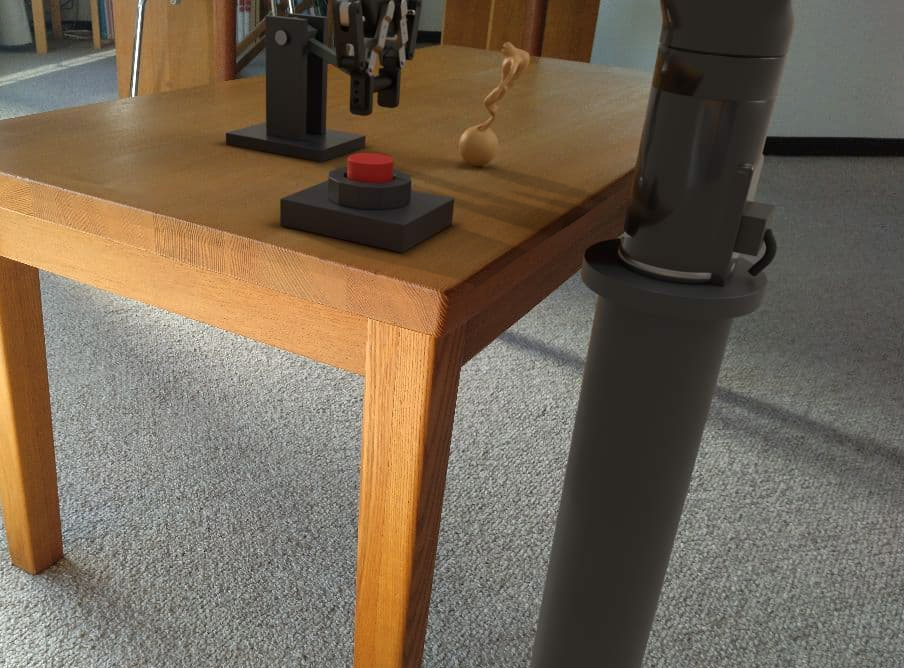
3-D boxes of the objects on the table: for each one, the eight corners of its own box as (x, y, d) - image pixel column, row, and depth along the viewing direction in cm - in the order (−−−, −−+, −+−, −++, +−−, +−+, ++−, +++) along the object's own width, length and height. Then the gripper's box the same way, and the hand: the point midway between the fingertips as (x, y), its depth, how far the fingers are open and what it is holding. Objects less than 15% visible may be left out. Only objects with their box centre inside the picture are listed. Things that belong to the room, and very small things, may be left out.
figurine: (462, 154, 96) (474, 34, 90) (518, 160, 95) (534, 39, 89) (451, 173, 89) (464, 43, 83) (512, 179, 88) (529, 48, 82)
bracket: (365, 146, 97) (371, 19, 91) (321, 162, 90) (324, 25, 84) (273, 130, 102) (273, 8, 96) (225, 144, 95) (222, 13, 89)
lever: (389, 95, 91) (398, 73, 90) (365, 102, 87) (374, 79, 86) (296, 38, 94) (303, 16, 92) (269, 42, 90) (276, 19, 88)
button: (400, 179, 71) (401, 157, 70) (378, 189, 68) (380, 166, 68) (361, 172, 73) (362, 150, 72) (338, 181, 70) (339, 158, 69)
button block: (452, 224, 74) (456, 176, 72) (402, 253, 67) (406, 200, 65) (337, 200, 78) (339, 154, 76) (279, 225, 71) (279, 175, 69)
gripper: (382, -82, 75) (372, 126, 83) (453, -78, 86) (438, 105, 94) (306, -85, 78) (304, 116, 86) (384, -81, 89) (376, 97, 97)
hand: (374, 109), depth 90 cm, fingers closed on lever, 5 cm apart
